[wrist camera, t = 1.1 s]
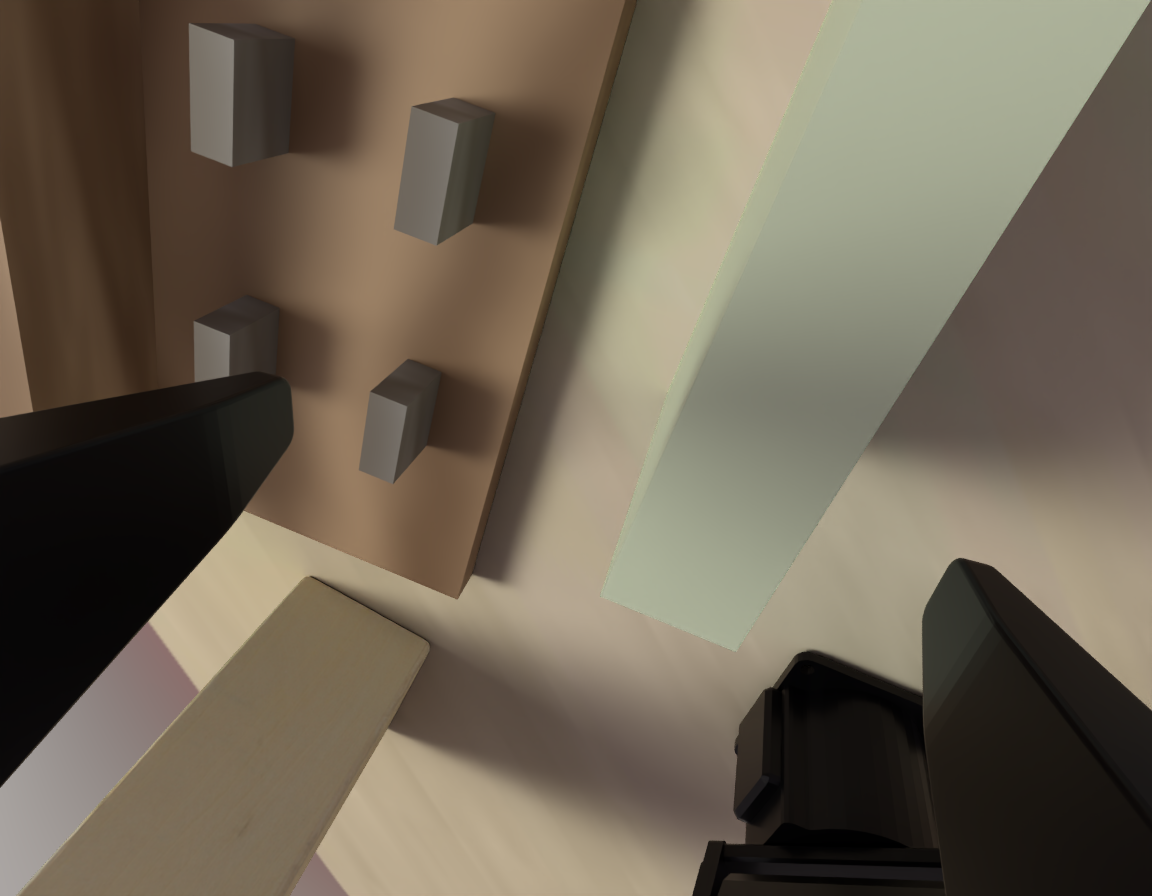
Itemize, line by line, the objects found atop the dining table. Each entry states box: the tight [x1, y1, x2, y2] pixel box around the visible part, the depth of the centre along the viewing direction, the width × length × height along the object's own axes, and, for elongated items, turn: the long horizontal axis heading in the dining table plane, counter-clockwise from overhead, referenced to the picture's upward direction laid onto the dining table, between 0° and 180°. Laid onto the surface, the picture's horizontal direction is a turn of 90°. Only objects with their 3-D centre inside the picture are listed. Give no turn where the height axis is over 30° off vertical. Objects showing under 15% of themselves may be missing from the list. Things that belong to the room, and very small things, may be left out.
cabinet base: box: [0, 0, 637, 600], centre depth 21 cm, size 16×24×6 cm, turn 164°
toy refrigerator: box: [16, 577, 430, 896], centre depth 25 cm, size 8×7×21 cm
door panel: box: [600, 0, 1151, 652], centre depth 15 cm, size 3×14×10 cm, turn 164°
